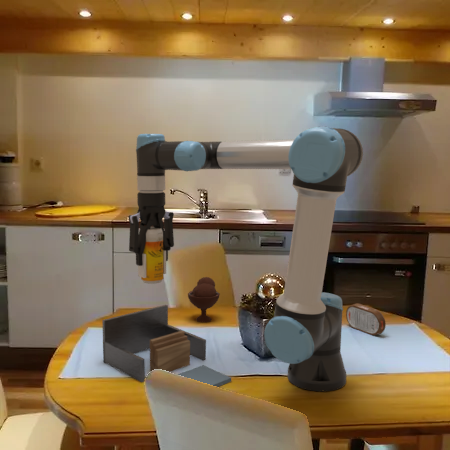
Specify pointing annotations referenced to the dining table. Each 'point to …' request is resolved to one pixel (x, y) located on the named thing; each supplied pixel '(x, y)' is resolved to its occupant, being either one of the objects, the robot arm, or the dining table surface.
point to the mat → (207, 376)
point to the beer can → (154, 256)
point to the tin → (365, 319)
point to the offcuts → (170, 352)
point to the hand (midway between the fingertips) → (152, 274)
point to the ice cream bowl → (204, 297)
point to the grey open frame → (140, 339)
